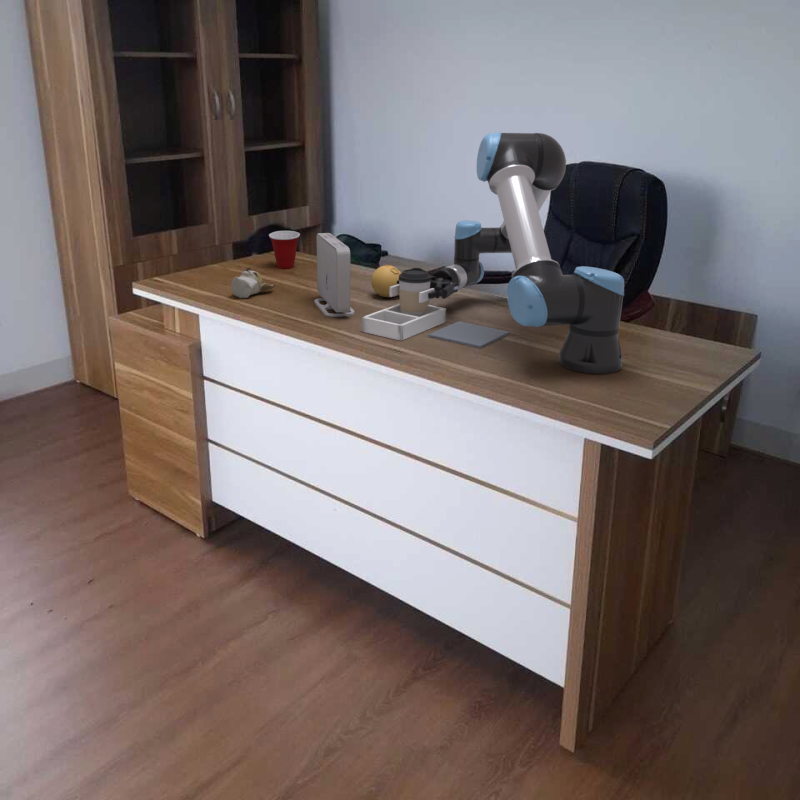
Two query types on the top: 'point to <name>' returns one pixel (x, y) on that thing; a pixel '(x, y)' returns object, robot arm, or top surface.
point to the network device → (333, 275)
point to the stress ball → (384, 279)
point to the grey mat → (469, 334)
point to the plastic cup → (284, 248)
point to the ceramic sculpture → (249, 284)
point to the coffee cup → (413, 291)
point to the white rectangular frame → (401, 322)
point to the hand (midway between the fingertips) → (405, 294)
